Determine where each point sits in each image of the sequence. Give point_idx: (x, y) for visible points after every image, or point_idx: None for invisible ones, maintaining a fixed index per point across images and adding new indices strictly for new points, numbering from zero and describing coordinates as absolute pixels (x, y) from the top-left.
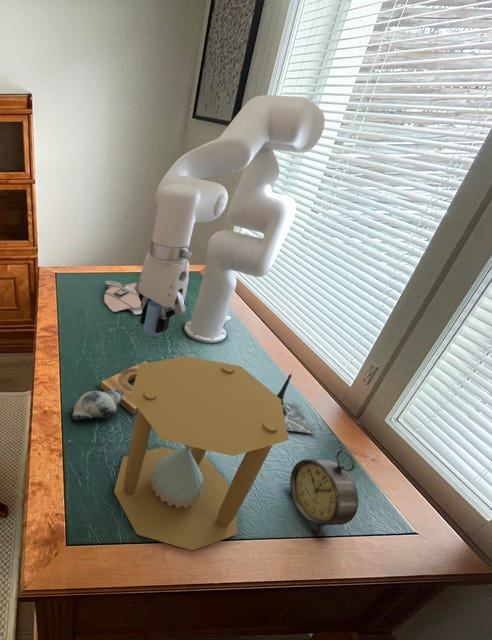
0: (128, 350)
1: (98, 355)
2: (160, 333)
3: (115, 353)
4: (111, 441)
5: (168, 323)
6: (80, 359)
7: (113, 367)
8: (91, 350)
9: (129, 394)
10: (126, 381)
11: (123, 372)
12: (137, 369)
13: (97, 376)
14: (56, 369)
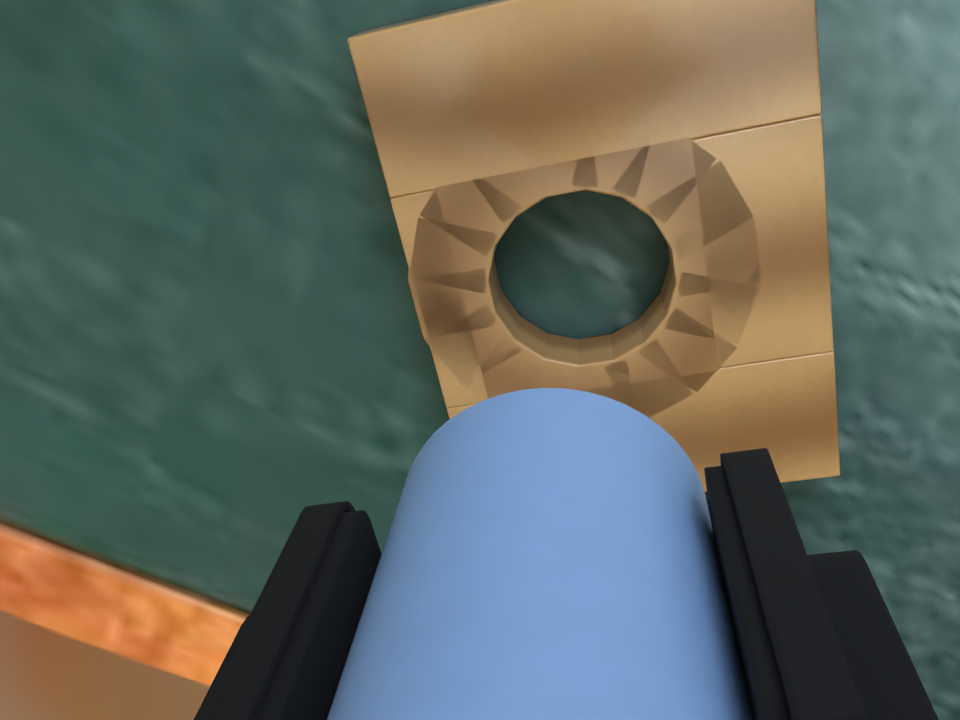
0: (88, 31)
1: (117, 318)
2: (696, 471)
3: (114, 175)
4: (924, 647)
5: (898, 638)
6: (143, 455)
7: (297, 293)
8: (42, 334)
9: (694, 428)
10: (551, 368)
11: (439, 328)
12: (444, 197)
13: (363, 447)
14: (218, 621)
